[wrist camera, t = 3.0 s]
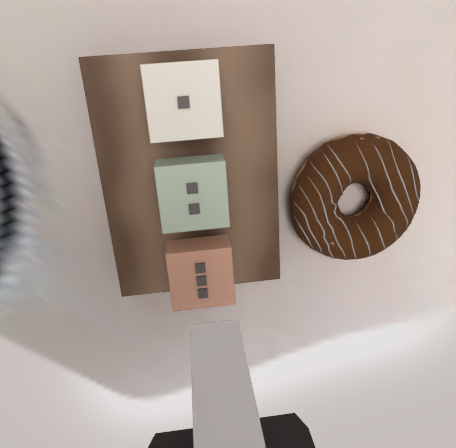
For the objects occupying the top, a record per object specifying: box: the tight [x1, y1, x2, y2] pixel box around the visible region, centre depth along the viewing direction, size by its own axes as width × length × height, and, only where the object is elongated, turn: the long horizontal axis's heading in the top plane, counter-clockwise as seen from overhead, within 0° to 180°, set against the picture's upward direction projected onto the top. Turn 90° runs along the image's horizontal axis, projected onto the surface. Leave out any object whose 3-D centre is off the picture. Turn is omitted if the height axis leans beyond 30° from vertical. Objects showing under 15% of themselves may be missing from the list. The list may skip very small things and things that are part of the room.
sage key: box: [154, 154, 230, 234], centre depth 28 cm, size 4×4×3 cm
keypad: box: [79, 44, 280, 297], centre depth 31 cm, size 13×18×4 cm
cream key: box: [140, 59, 224, 143], centre depth 26 cm, size 4×4×3 cm
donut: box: [290, 133, 420, 260], centre depth 34 cm, size 11×11×4 cm
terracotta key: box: [165, 234, 235, 311], centre depth 30 cm, size 4×4×3 cm
